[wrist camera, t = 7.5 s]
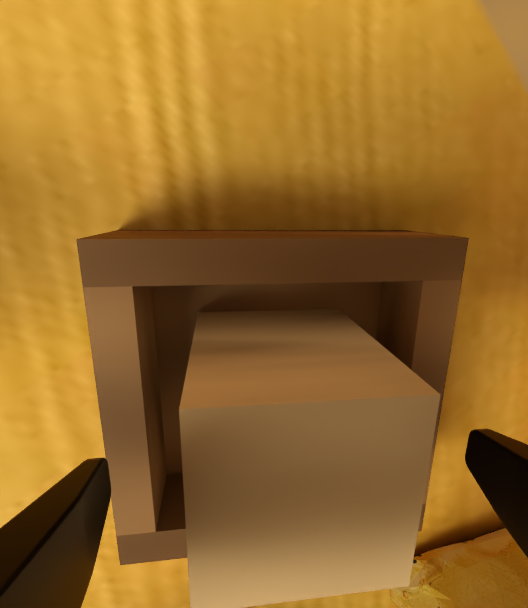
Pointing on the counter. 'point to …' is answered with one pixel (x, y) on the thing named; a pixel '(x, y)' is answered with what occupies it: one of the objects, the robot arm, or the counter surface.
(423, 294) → the bin
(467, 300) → the counter surface
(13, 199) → the counter surface
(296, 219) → the counter surface
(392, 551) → the cream cube
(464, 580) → the chocolate bunny
